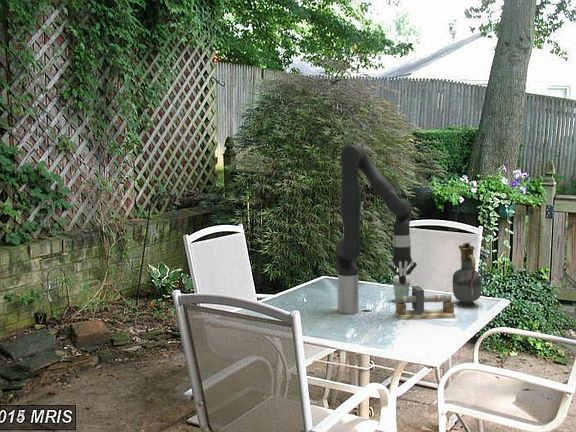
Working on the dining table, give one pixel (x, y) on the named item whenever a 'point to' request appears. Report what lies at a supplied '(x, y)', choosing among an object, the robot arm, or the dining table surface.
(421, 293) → the collar
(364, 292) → the dining table surface
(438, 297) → the pipe rig
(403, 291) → the coffee cup
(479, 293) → the dark grey bottle
